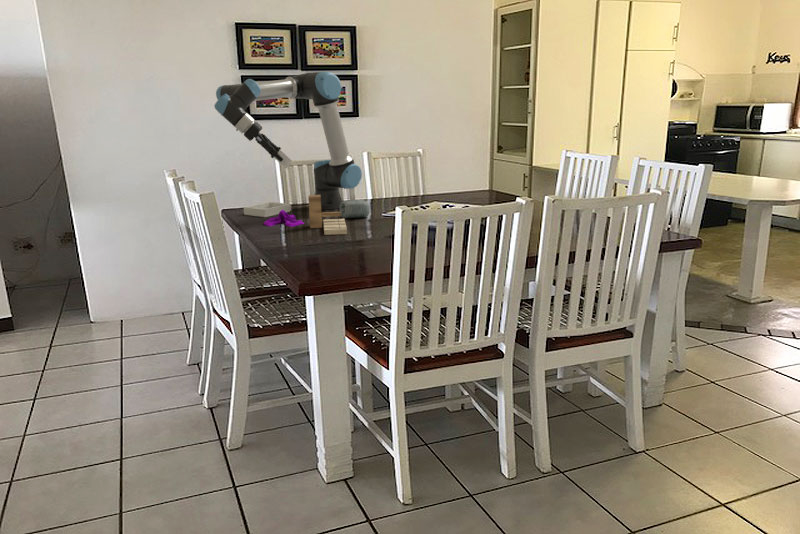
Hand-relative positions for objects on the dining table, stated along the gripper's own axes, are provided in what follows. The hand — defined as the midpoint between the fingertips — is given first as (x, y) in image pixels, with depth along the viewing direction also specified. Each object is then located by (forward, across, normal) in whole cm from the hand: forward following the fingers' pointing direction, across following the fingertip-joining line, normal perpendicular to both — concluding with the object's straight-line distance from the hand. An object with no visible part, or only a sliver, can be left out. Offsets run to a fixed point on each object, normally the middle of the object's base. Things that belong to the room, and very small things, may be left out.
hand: (289, 164), depth 258 cm
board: (+31, +7, -6) cm, 32 cm away
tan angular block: (+28, 0, -9) cm, 30 cm away
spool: (+38, -16, +1) cm, 41 cm away
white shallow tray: (+9, -38, -27) cm, 47 cm away
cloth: (+16, -13, -22) cm, 30 cm away
